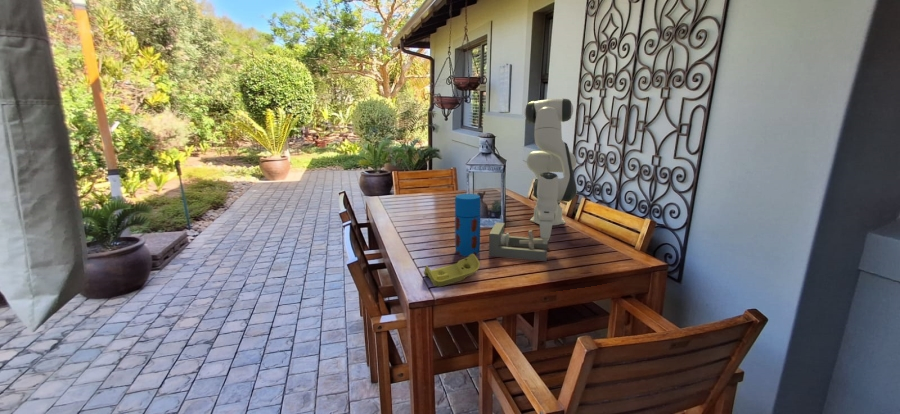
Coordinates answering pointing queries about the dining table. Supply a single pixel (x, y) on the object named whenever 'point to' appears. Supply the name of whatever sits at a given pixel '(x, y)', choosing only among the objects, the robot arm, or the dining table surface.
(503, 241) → the rounded knob
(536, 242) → the pipe connector
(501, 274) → the dining table surface
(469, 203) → the thermos
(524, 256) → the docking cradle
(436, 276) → the plastic component
